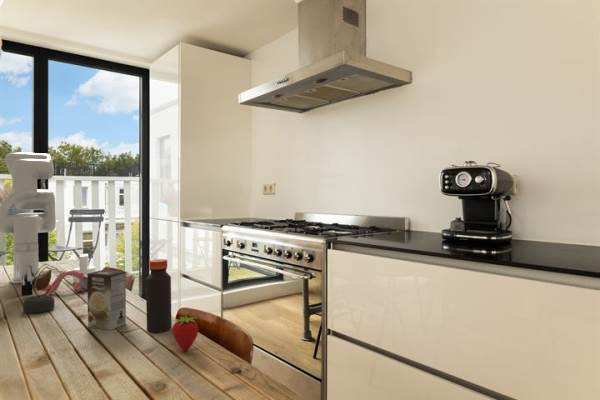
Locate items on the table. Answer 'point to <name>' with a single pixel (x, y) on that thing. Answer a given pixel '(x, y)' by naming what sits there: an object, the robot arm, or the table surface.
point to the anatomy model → (43, 280)
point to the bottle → (158, 297)
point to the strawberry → (185, 332)
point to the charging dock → (84, 282)
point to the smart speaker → (38, 305)
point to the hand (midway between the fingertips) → (27, 294)
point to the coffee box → (106, 299)
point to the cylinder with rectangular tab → (83, 266)
